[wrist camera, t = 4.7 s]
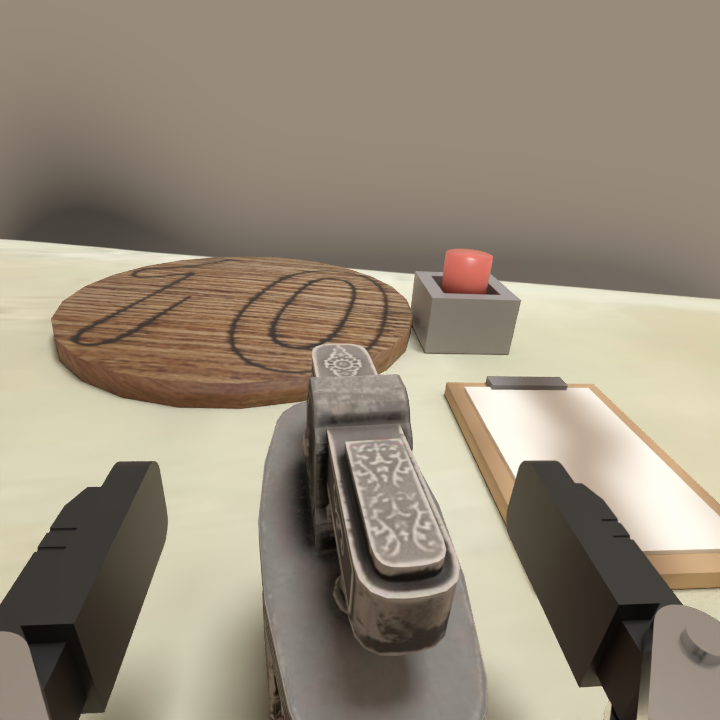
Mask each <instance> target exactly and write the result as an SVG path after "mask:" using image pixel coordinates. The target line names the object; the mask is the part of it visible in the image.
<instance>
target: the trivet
mask: <svg viewBox="0 0 720 720" xmlns="http://www.w3.org/2000/svg"><path fill="white" fill-rule="evenodd" d="M412 317H413V314H412V311H411V309H410V306H409V304H408V302H407V299H405V298H404V297H403V296H402V295H401V294H400V293H398V292H397V291H396V290H395V289H394V288H393V287H391V286H389V285H387V284H385V283H383V282H381V281H379V280H377V279H375V278H373V277H371V276H368V275H365V274H362V273H359V272H356V271H353V270H349V269H346V268H343V267H338V266H333V265H328V264H323V263H317V262H311V261H303V260H294V259H286V258H268V257H214V258H203V259H192V260H181V261H175V262H169V263H163V264H157V265H151V266H145V267H141V268H138V269H134V270H130V271H126V272H123V273H119V274H115V275H112V276H109V277H107V278H105V279H102V280H100V281H97V282H95V283H92V284H90V285H87V286H85V287H83V288H82V289H80V290H79V291H77V292H76V293H74V294H73V295H71V296H70V297H68V298H67V299H65V300H64V301H62V303H61V305H60V306H59V308H58V309H57V311H56V312H55V314H54V315H53V317H52V318H51V321H52V326H53V332H54V337H55V341H56V345H57V349H58V353H59V357H60V361H61V362H62V363H63V364H64V365H65V366H66V367H67V368H68V369H70V370H71V371H72V372H73V373H74V374H75V375H76V376H77V377H78V378H79V379H81V380H82V381H83V382H86V383H88V384H90V385H93V386H95V387H98V388H100V389H103V390H105V391H108V392H110V393H113V394H115V395H118V396H120V397H123V398H128V399H134V400H139V401H145V402H151V403H156V404H162V405H168V406H173V407H183V408H232V409H243V408H251V407H260V406H268V405H277V404H285V403H293V402H302V401H306V400H307V387H308V381H309V377H312V350H313V349H314V348H315V347H316V346H319V345H322V344H338V343H344V344H355V345H360V346H361V347H363V348H365V349H366V350H367V352H368V353H369V355H370V358H371V360H372V362H373V365H374V367H375V369H376V371H377V374H380V373H382V372H384V371H386V370H387V369H388V368H389V367H390V366H391V365H392V364H393V363H394V362H395V361H396V360H397V359H398V358H399V357H400V356H401V355H402V354H403V353H404V352H405V351H406V348H407V344H408V341H409V337H410V334H411V326H412Z"/></svg>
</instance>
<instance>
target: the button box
mask: <svg viewBox="0 0 720 720" xmlns="http://www.w3.org/2000/svg"><path fill="white" fill-rule="evenodd" d="M442 278H443V272H418V271H415V277H414V286H413V294H412V303H411V311H412V314H413V317H412V326H413V328H414V330H415V333H416V335H417V337H418V339H419V341H420V343H421V345H422V347H423V350H424V352H425V353H462V354H509V350H510V346H511V341H512V337H513V333H514V328H515V324H516V320H517V315H518V311H519V307H520V302H521V300H520V299H519V298H517V297H516V296H515V295H514V294H513V293H512V292H511V291H509V290H508V289H507V288H506V287H505V286H504V285H503V284H502V283H500V282H499V281H498V280H497V279H496V278H495V277H494V276H492V275H491V274H490V276H489V281H488V286H487V291H486V295H483V294H451V293H443V291H442V290H441V285H442Z"/></svg>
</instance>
